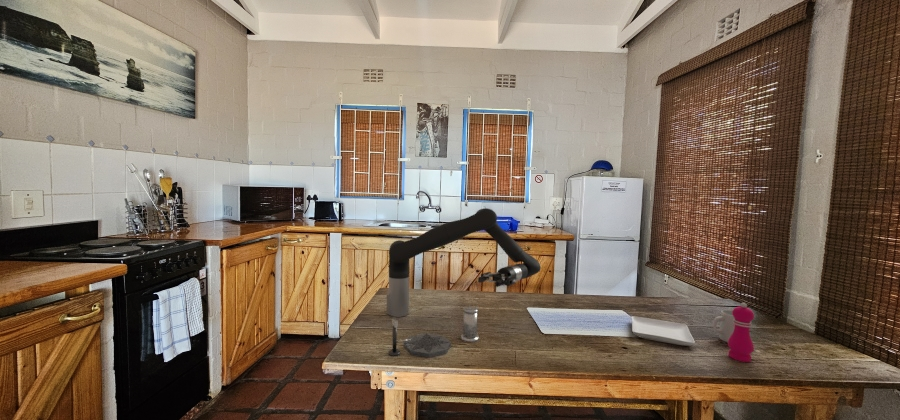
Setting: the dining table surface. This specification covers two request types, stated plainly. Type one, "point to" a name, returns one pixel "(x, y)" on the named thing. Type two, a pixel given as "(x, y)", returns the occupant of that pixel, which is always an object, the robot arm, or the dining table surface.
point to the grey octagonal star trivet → (427, 345)
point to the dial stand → (395, 339)
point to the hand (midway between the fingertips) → (487, 282)
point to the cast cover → (470, 325)
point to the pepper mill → (741, 334)
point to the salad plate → (662, 331)
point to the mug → (724, 325)
